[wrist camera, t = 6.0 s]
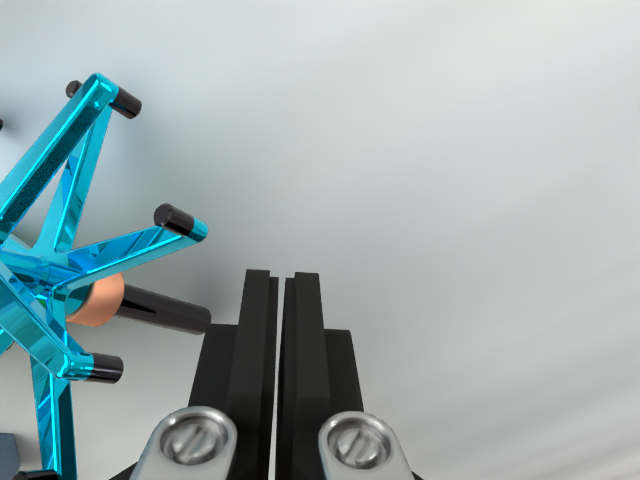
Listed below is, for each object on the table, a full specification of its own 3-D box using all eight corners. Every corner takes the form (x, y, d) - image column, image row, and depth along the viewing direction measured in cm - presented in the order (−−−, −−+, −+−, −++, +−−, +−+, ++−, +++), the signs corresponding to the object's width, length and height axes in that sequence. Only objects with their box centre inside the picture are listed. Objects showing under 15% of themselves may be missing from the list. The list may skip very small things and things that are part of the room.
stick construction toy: (106, -47, 8) (48, 501, 5) (318, 151, 14) (350, 463, 11) (-224, 184, 13) (-354, 533, 10) (33, 259, 19) (0, 495, 16)
